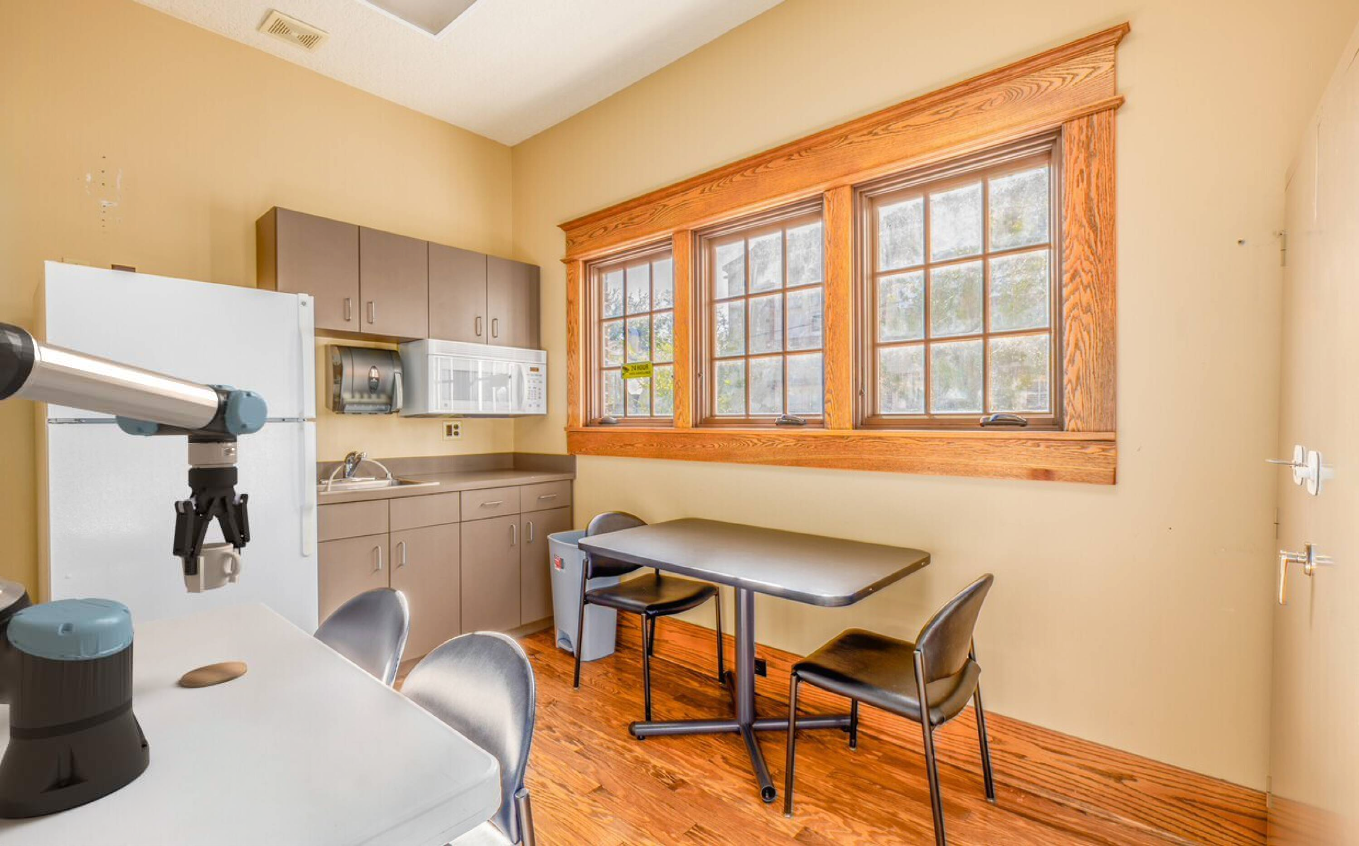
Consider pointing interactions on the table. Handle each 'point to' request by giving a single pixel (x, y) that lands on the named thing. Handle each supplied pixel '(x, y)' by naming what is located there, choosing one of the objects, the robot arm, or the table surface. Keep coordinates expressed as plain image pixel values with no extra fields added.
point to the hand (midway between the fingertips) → (213, 586)
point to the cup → (217, 564)
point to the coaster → (213, 674)
